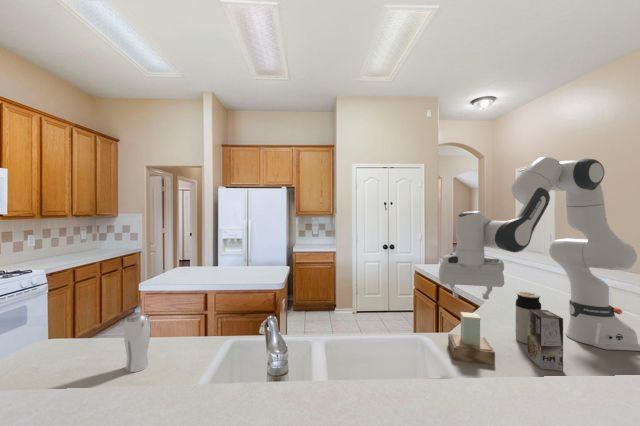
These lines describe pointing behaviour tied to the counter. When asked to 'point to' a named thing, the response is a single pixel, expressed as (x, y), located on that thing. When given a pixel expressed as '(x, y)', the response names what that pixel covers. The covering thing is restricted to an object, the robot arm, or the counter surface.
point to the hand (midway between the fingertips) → (470, 298)
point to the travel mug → (525, 313)
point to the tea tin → (470, 328)
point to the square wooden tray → (471, 350)
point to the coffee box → (545, 339)
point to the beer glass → (137, 342)
